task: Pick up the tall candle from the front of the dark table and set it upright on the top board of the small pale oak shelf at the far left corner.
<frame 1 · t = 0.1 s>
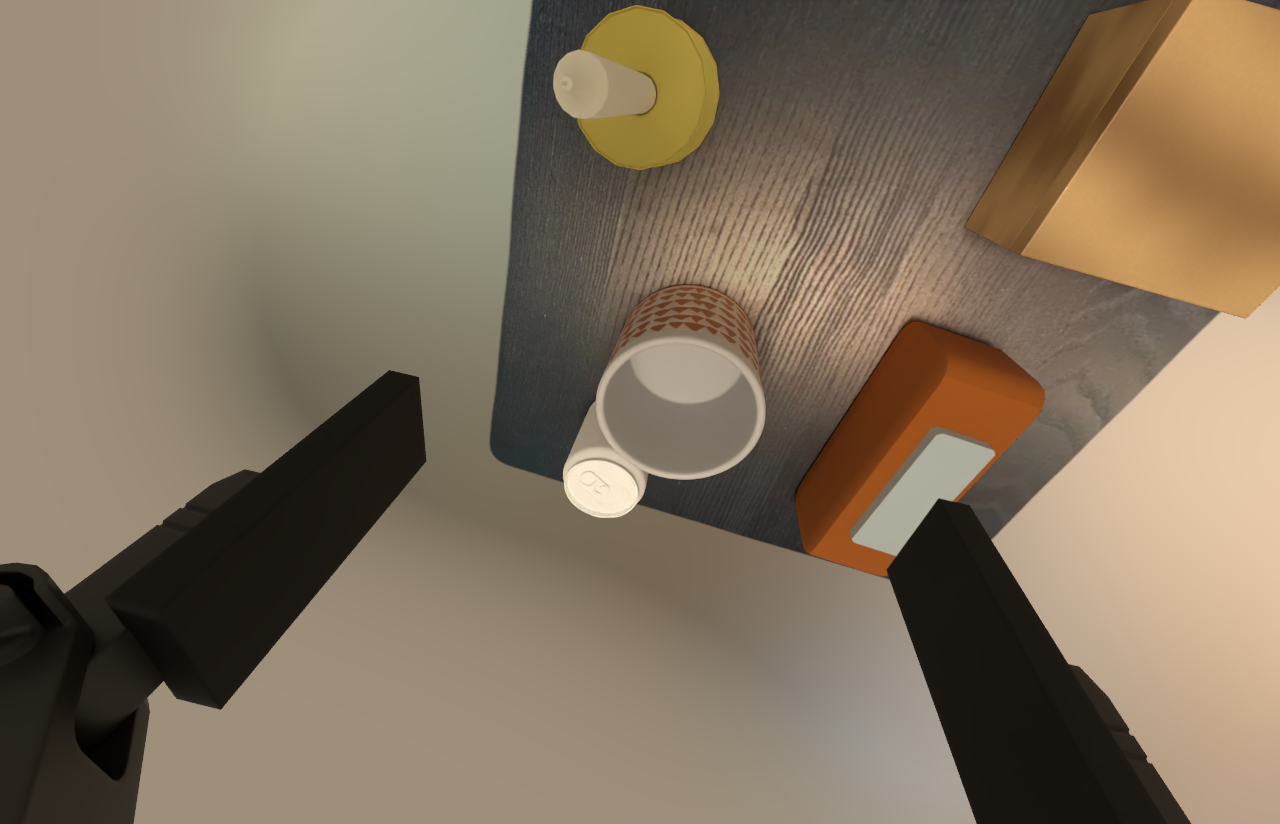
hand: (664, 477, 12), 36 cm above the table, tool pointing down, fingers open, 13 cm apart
beverage can: (622, 419, 55), on the table
alarm clock: (879, 426, 51), on the table
planter: (687, 348, 49), on the table
shelf: (1121, 161, 36), on the table
candle: (656, 96, 38), on the table
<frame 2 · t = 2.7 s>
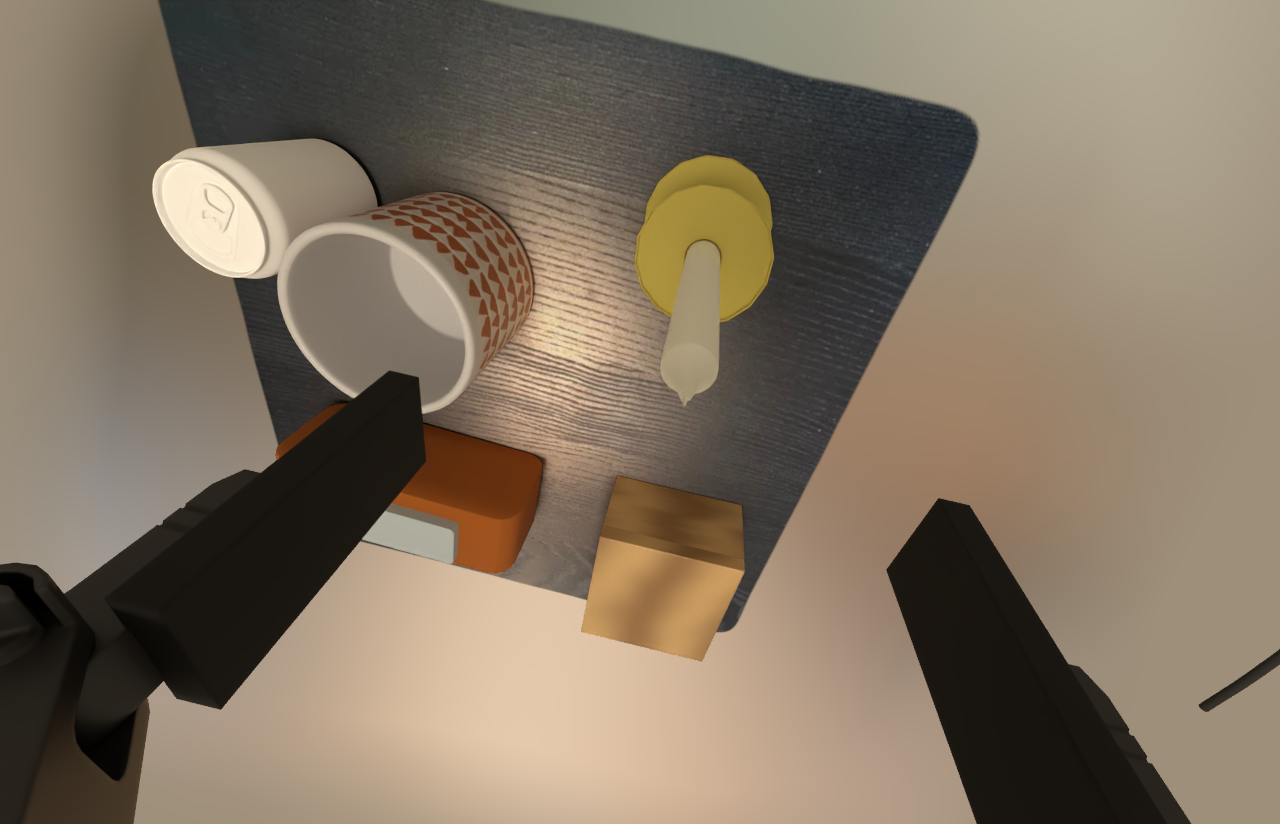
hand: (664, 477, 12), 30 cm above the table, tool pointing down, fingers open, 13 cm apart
beverage can: (337, 192, 41), on the table
alarm clock: (443, 455, 55), on the table
planter: (461, 273, 43), on the table
shelf: (664, 538, 57), on the table
candle: (706, 226, 38), on the table
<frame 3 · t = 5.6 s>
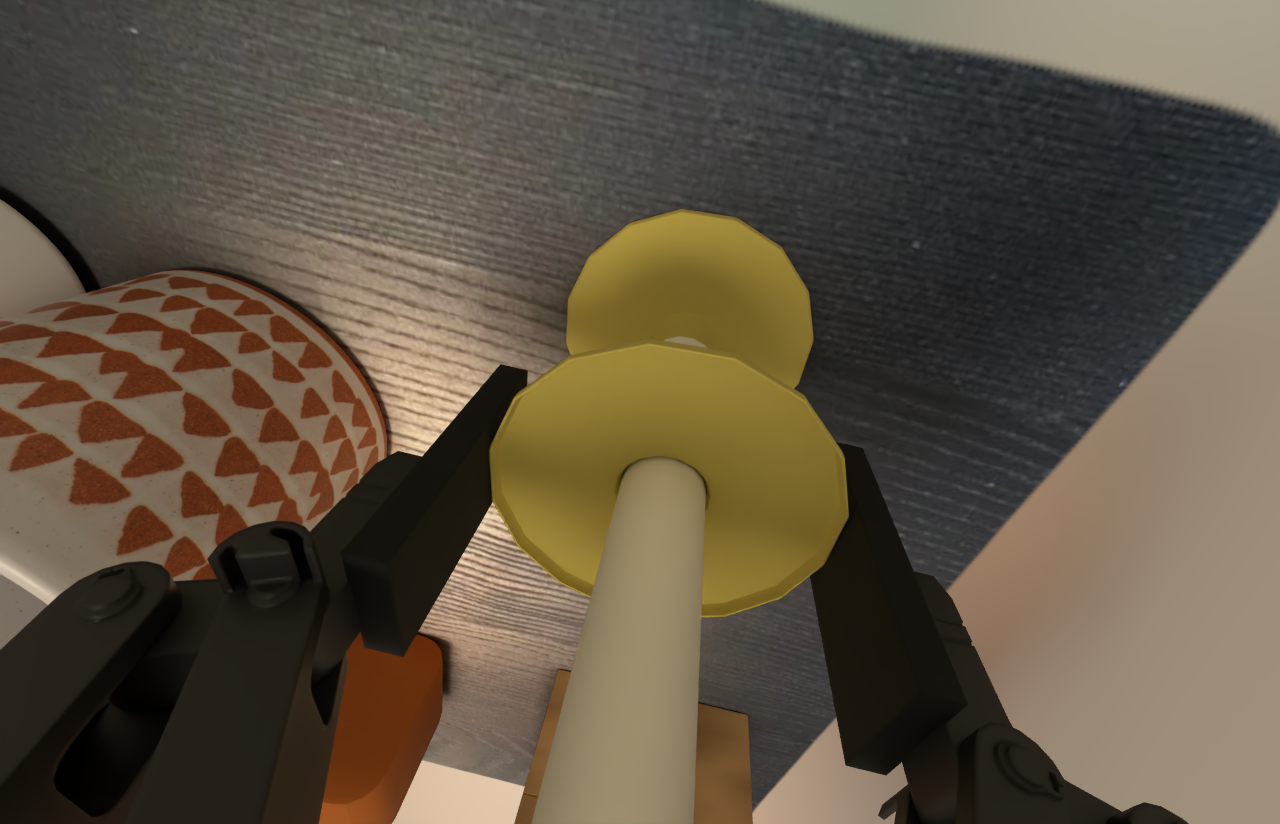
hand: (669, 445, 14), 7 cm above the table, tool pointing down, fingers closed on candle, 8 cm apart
beverage can: (22, 265, 23), on the table
alarm clock: (303, 627, 37), on the table
planter: (266, 398, 25), on the table
shelf: (633, 740, 39), on the table
candle: (685, 337, 20), on the table, touching gripper
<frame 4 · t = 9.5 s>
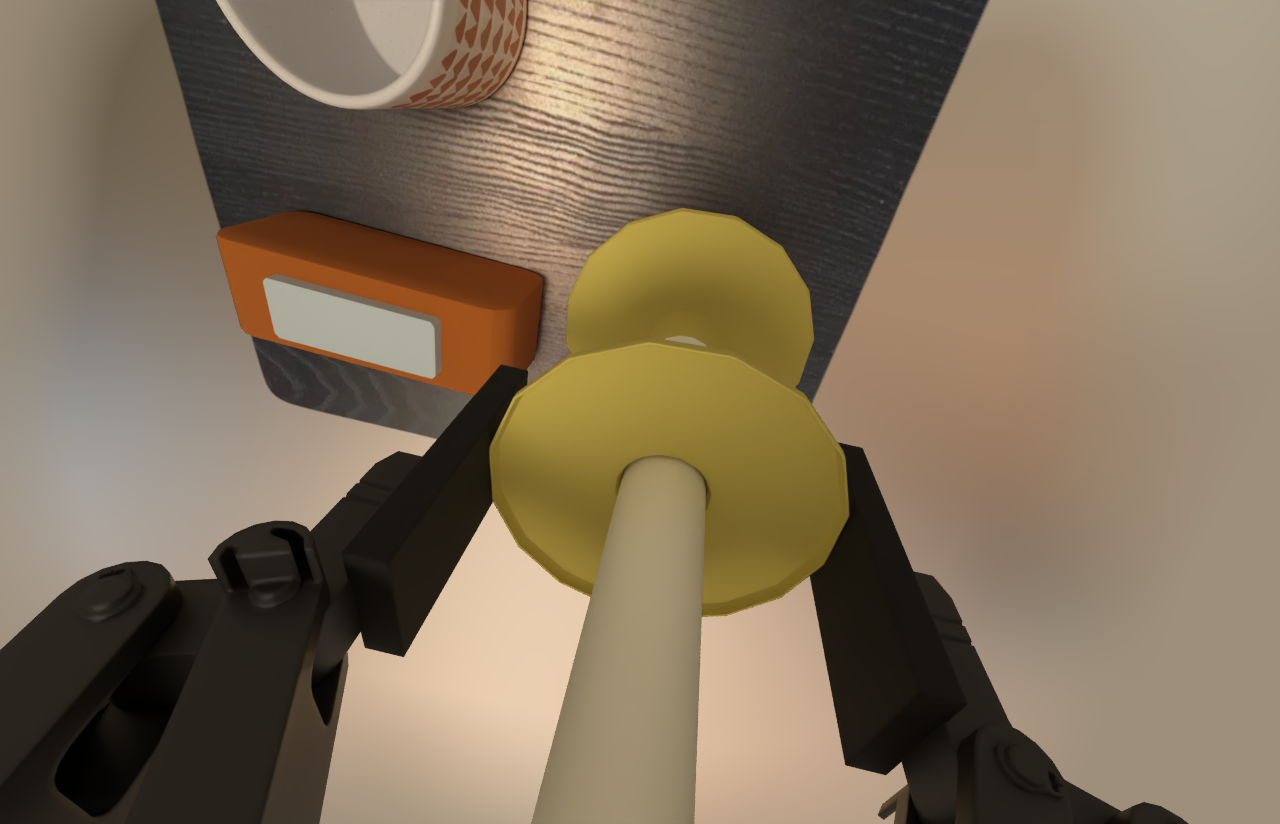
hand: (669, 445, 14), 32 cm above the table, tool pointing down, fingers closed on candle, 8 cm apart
alarm clock: (426, 283, 47), on the table
candle: (685, 336, 20), point 24 cm above the table, touching gripper
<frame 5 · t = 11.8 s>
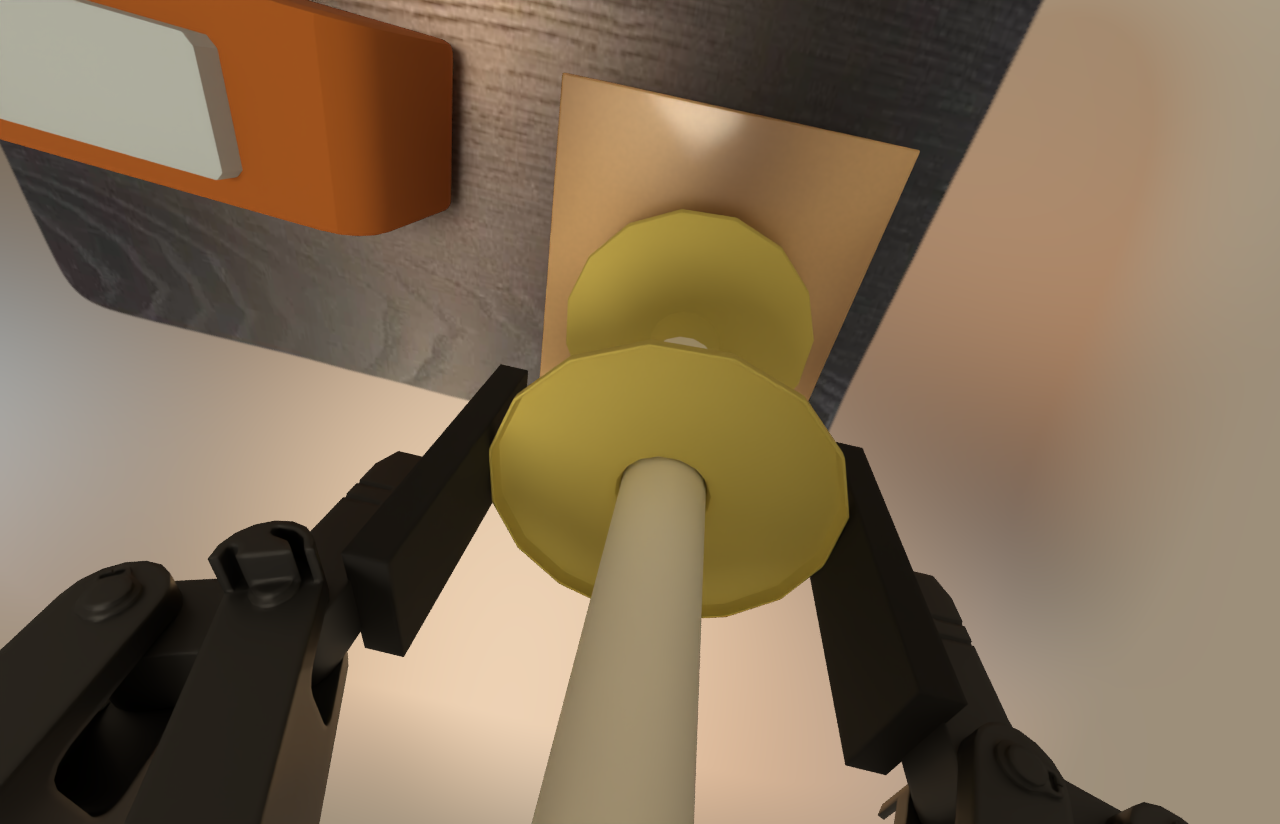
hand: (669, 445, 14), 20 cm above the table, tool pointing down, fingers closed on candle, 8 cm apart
alarm clock: (269, 76, 28), on the table
shelf: (698, 257, 30), on the table
candle: (685, 337, 20), point 13 cm above the table, touching gripper
when the fingers open (16 cm above the table, at t = 13.4 s): candle stays where it is, resting on shelf.
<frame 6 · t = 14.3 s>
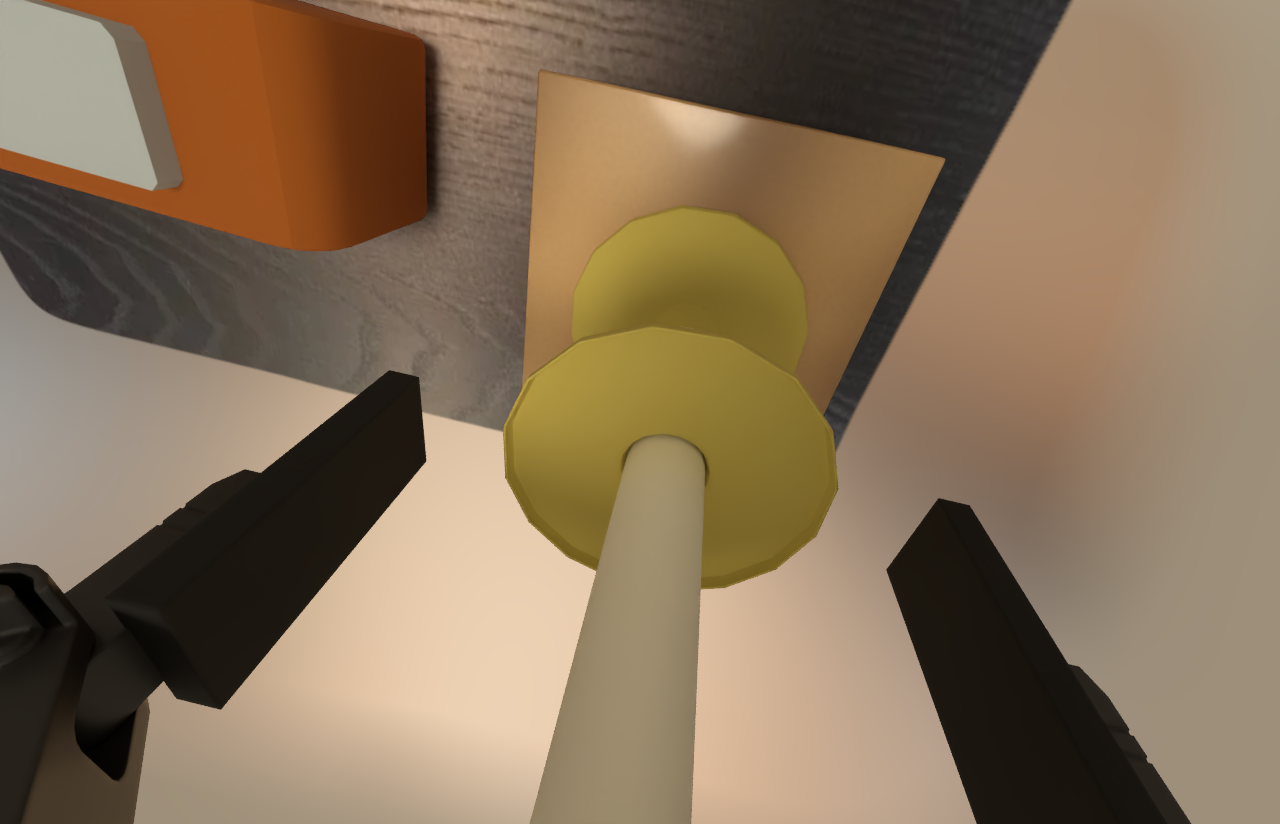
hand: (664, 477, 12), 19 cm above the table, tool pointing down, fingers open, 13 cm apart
alarm clock: (228, 74, 26), on the table
shelf: (694, 270, 28), on the table
candle: (685, 329, 21), point 9 cm above the table, touching shelf
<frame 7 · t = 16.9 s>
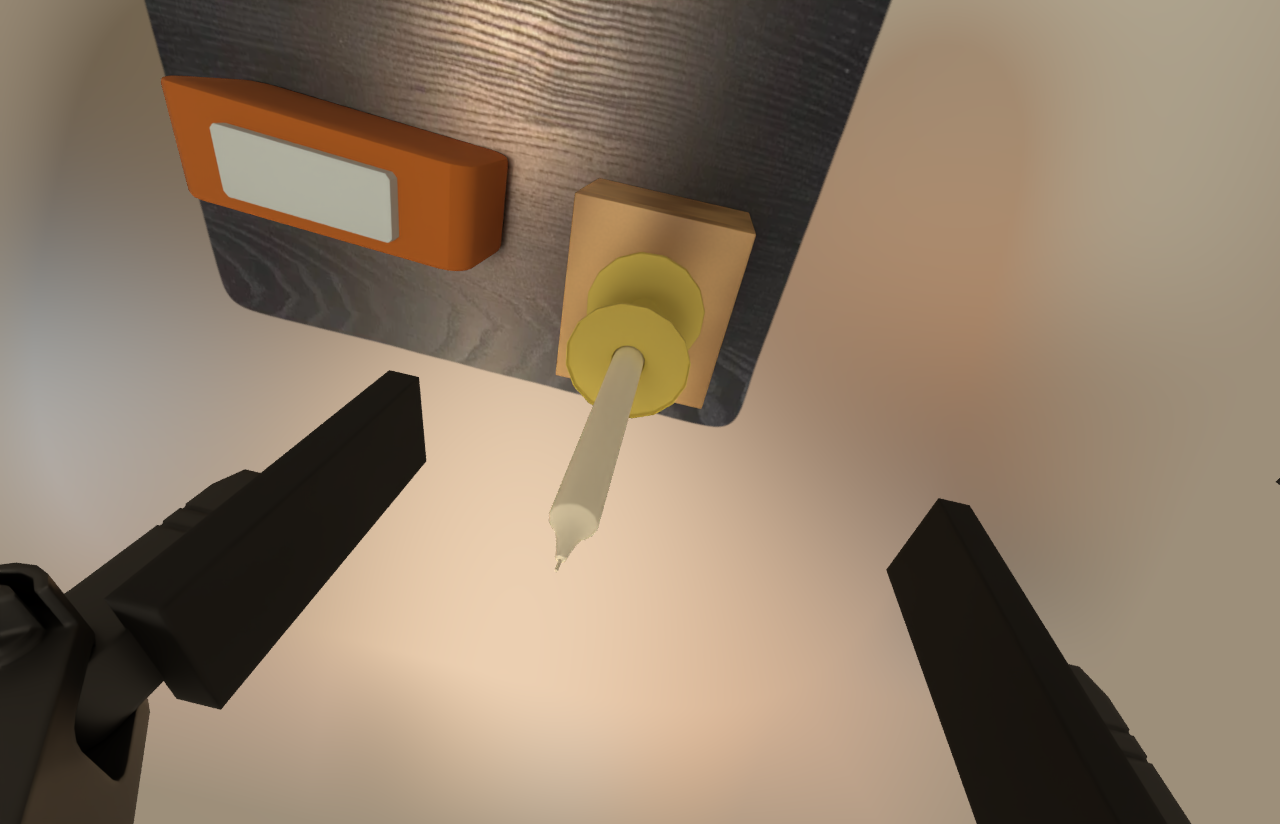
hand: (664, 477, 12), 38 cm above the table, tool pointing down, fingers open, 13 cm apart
alarm clock: (389, 167, 46), on the table
shelf: (655, 280, 48), on the table
candle: (645, 311, 41), point 9 cm above the table, touching shelf
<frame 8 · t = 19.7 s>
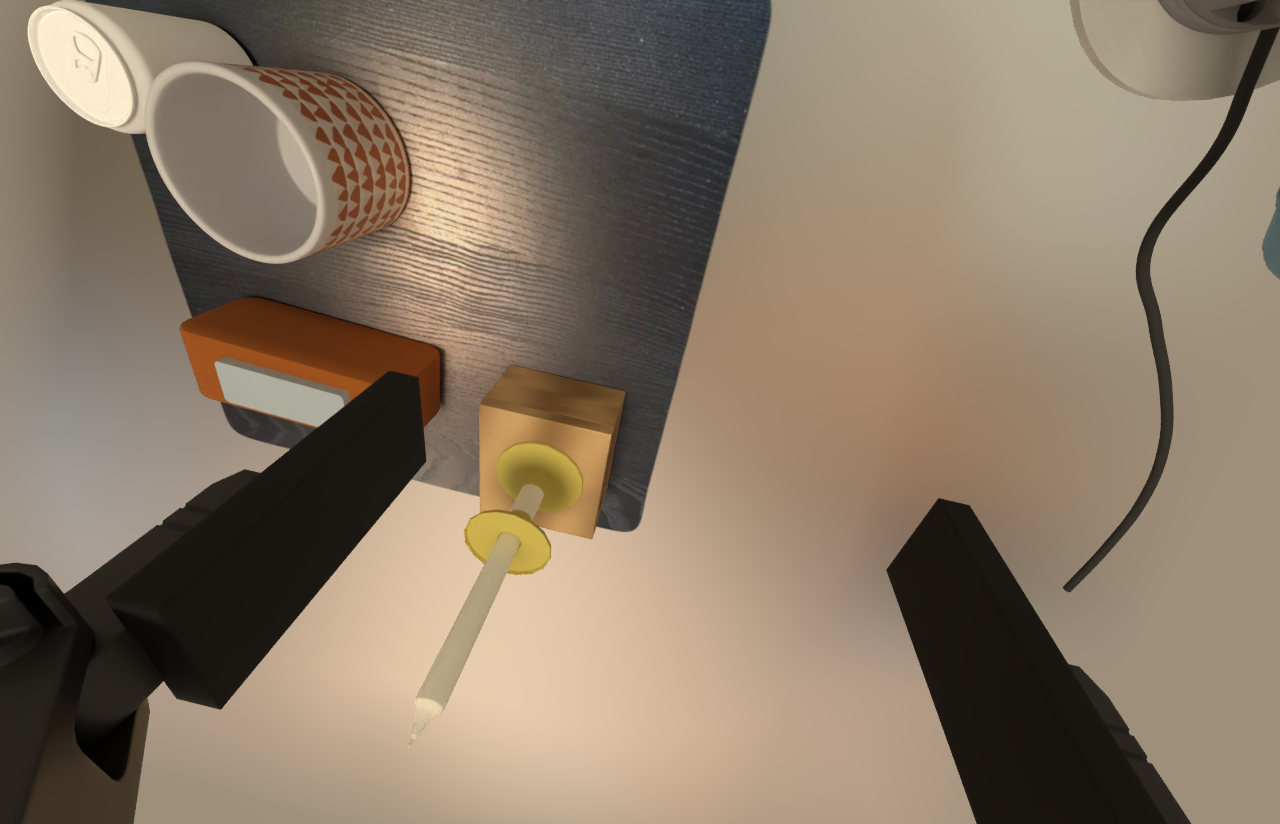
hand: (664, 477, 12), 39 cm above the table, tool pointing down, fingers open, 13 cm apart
beverage can: (226, 77, 45), on the table
alarm clock: (352, 350, 59), on the table
planter: (346, 157, 47), on the table
shelf: (562, 431, 61), on the table
candle: (540, 476, 54), point 9 cm above the table, touching shelf
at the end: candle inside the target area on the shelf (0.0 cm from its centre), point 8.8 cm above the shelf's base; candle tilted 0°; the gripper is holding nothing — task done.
